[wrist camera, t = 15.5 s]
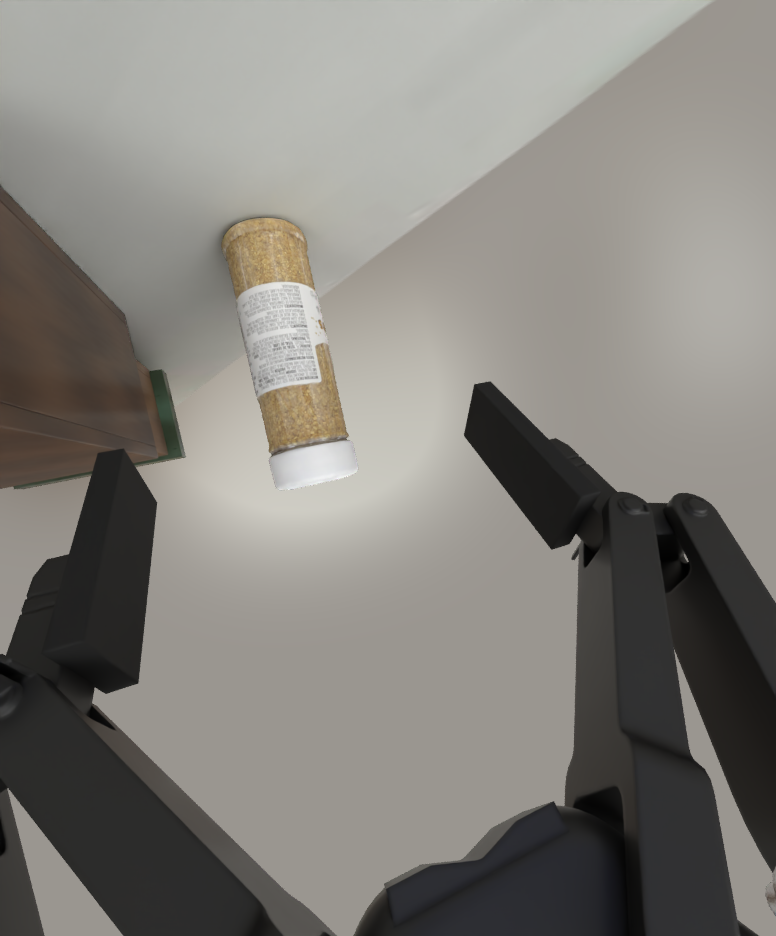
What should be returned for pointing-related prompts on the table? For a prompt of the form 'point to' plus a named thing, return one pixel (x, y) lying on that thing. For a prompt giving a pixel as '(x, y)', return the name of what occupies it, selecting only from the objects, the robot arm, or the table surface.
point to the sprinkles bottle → (288, 353)
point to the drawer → (160, 421)
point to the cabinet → (61, 363)
